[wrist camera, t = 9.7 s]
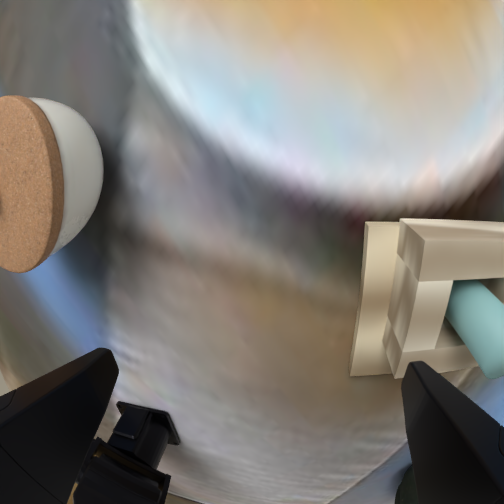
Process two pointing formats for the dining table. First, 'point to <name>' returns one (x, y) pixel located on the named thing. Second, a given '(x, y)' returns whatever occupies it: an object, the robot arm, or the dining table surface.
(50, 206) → the lidded jar
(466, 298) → the peg
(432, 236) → the socket board
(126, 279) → the dining table surface
